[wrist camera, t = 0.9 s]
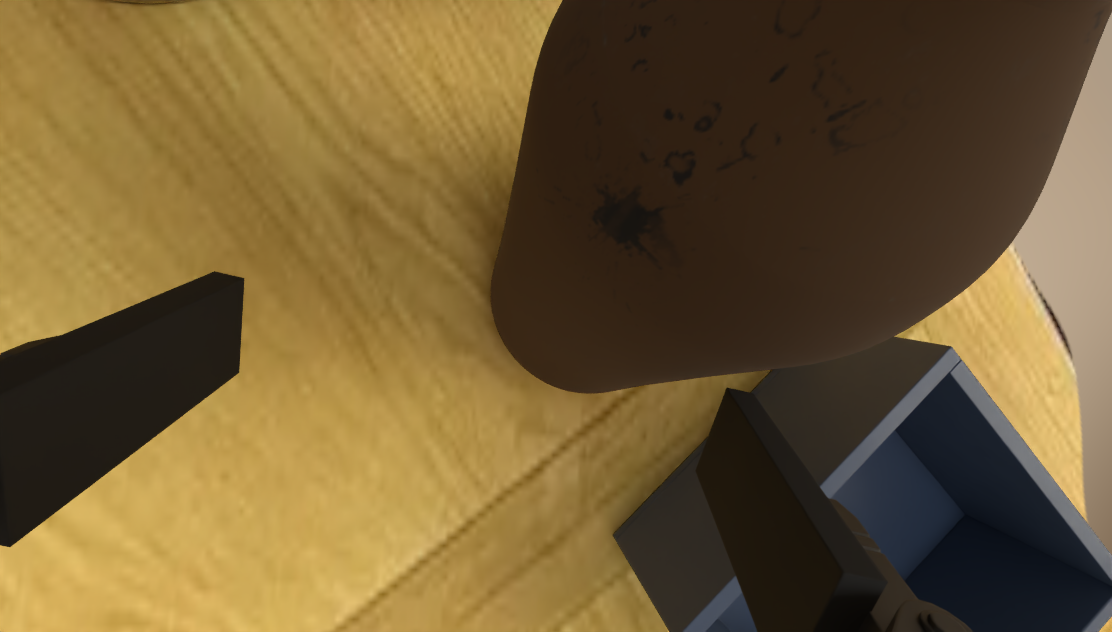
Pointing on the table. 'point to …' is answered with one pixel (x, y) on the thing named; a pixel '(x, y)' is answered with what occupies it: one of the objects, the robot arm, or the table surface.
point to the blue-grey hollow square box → (896, 500)
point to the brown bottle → (772, 176)
